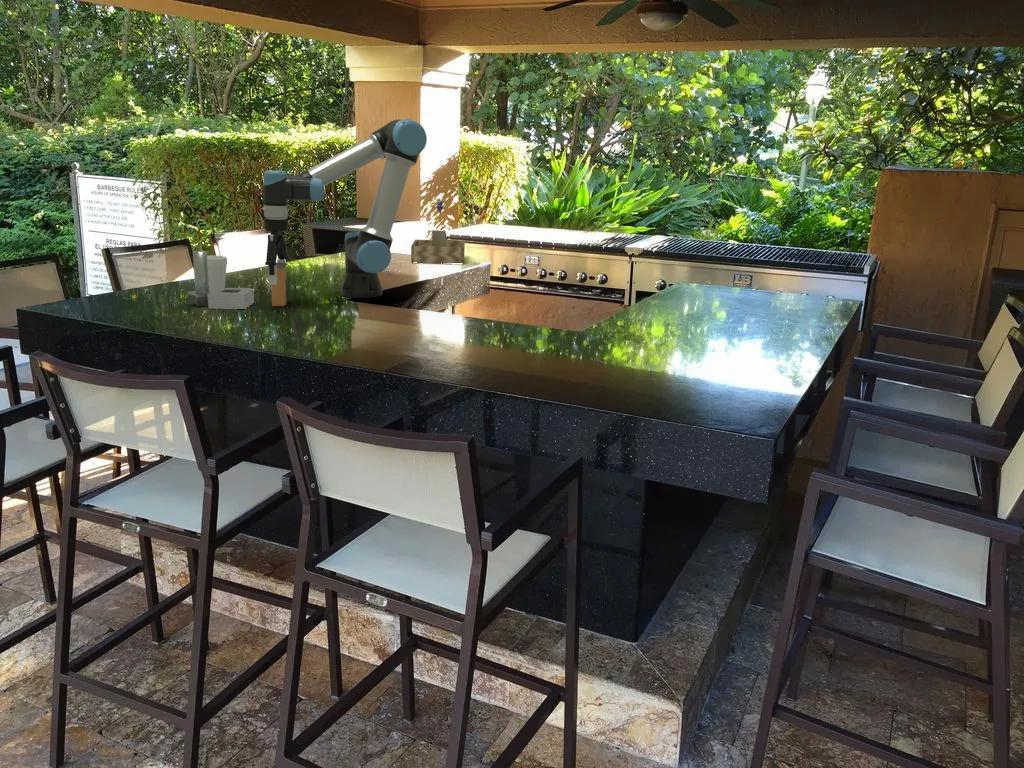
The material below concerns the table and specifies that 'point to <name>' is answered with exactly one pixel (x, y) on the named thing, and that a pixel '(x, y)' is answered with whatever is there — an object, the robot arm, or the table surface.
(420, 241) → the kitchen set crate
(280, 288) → the wedge pin
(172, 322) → the table surface
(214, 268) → the foam cup
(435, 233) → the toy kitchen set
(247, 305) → the grey angular stepped piece
